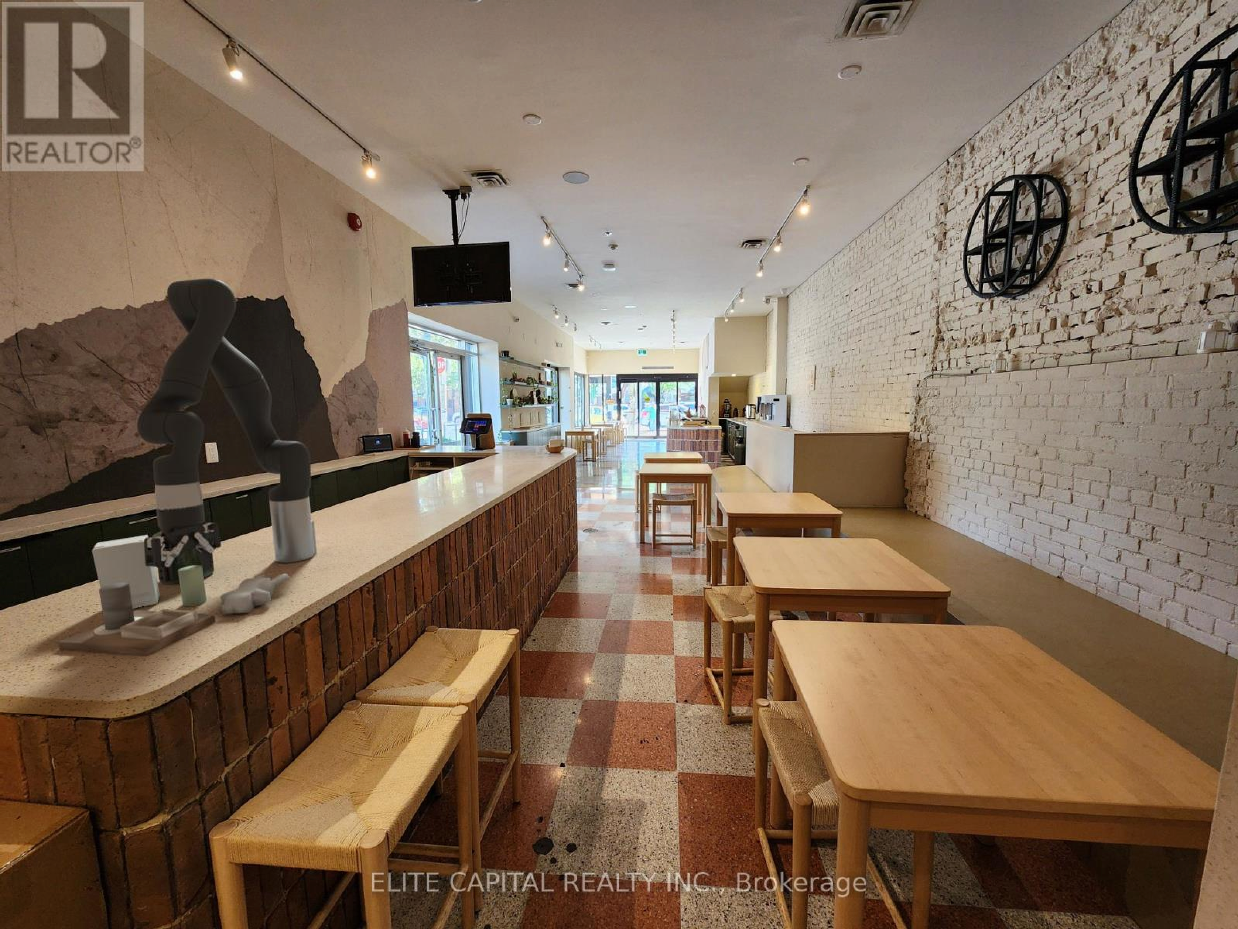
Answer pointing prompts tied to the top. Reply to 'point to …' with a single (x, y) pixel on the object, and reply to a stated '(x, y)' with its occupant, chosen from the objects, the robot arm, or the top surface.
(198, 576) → the green pin
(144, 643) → the board
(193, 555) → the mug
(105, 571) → the skincare box
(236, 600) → the bunny figurine
